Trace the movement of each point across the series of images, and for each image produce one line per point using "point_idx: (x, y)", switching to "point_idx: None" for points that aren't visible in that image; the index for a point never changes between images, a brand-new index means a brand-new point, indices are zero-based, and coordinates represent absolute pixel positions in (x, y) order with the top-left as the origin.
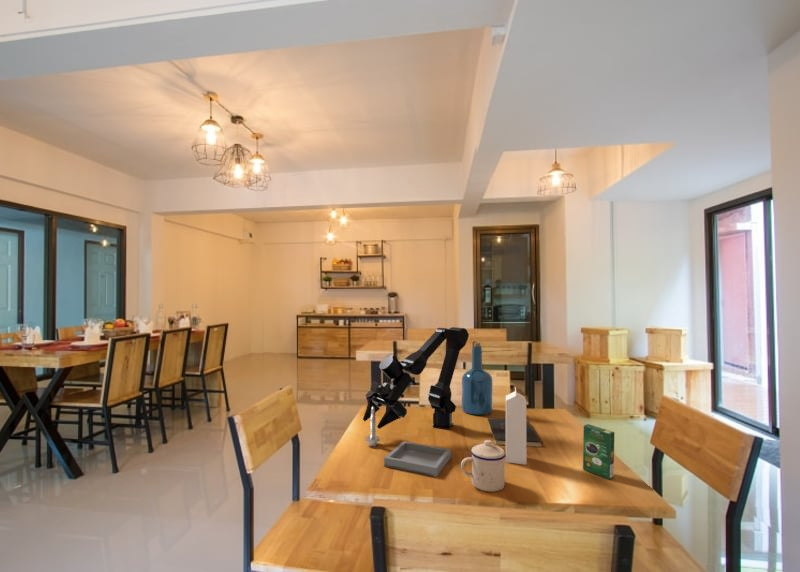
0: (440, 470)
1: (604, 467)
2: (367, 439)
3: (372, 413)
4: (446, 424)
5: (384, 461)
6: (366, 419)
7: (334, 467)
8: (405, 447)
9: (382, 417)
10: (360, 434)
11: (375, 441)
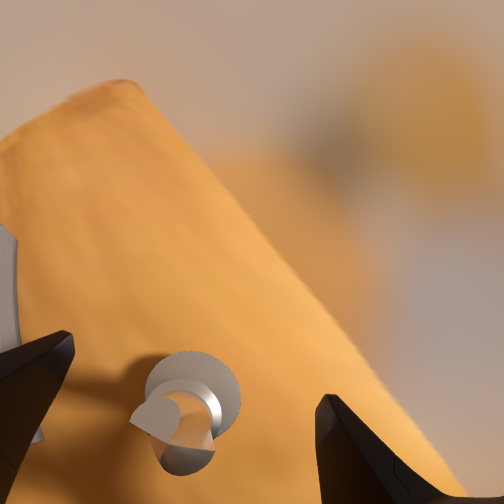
0: None
1: None
2: (201, 357)
3: (163, 394)
4: None
5: (8, 231)
6: (318, 427)
7: (159, 137)
8: None
9: (6, 374)
10: None
11: (149, 376)
